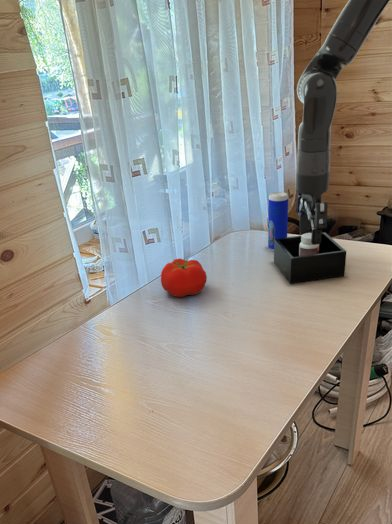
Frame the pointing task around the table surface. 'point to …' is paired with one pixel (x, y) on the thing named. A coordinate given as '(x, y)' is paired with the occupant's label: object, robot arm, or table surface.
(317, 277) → the black storage bin
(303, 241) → the pill bottle
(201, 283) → the tomato
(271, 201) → the blue cylindrical container
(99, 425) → the table surface
